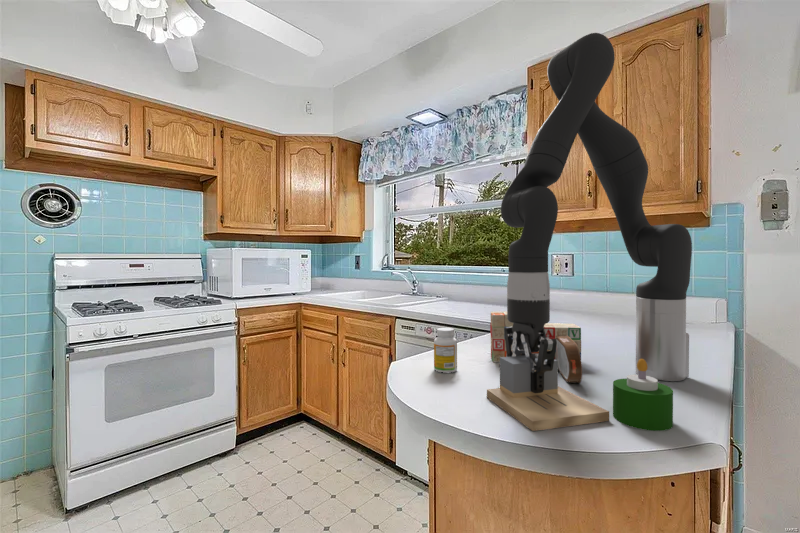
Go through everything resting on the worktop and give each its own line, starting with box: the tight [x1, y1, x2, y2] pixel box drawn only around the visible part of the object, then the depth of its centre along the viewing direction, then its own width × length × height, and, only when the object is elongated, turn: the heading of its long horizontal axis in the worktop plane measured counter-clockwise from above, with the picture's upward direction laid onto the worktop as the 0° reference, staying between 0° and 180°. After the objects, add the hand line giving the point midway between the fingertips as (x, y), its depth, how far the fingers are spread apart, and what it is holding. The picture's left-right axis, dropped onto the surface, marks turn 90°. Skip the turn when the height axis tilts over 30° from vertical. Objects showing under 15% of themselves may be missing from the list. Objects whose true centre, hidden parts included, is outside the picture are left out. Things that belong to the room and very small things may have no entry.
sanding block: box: [499, 356, 559, 398], centre depth 73 cm, size 5×9×6 cm, turn 104°
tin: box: [556, 336, 583, 384], centre depth 87 cm, size 15×3×8 cm, turn 168°
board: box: [486, 385, 610, 432], centre depth 69 cm, size 14×15×2 cm
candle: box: [612, 359, 674, 432], centre depth 64 cm, size 8×8×10 cm
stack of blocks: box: [489, 311, 582, 363], centre depth 101 cm, size 21×6×12 cm, turn 81°
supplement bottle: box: [433, 327, 458, 374], centre depth 92 cm, size 5×5×10 cm
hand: (528, 386), depth 73 cm, fingers closed on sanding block, 5 cm apart
